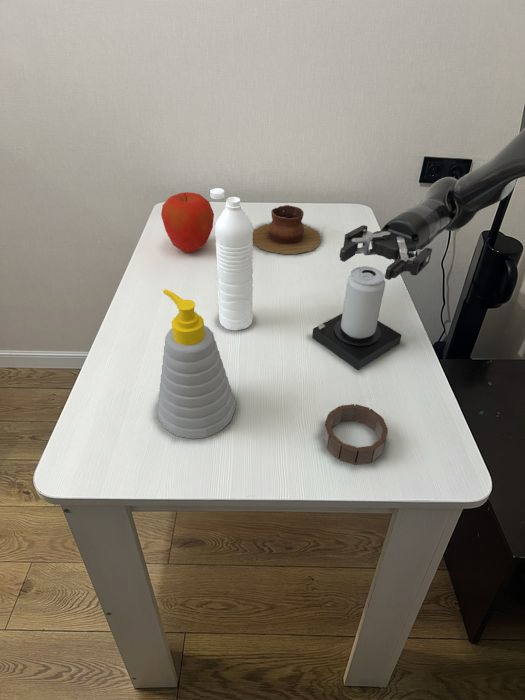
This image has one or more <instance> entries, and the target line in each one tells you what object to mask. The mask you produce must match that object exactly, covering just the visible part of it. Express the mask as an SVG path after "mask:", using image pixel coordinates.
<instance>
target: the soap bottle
mask: <svg viewBox="0 0 525 700" xmlns="http://www.w3.org/2000/svg"><path fill="white" fill-rule="evenodd" d="M162 292H163V294H164V295H166V296H167V297H169V299H171V301H173V303H174V304H175V305H176V308H177V309H178V313H177V314H176V316H175V317H173V319H172V320H171V328H170V329H169V330H168V332H167V333H166V335H165V337H164V346H163V355H162V365H161V374H160V383H159V392H158V400H157V418H158V420H159V421H160V424H161V425H162V427H163V428H164V429H165V430H166V431H169V432H170V433H171V434H173V435H174V436H175V437H181V438H184V439H185V438H187V439H190V440H192V439H200V438H201V439H202V438H208V437H210V436H212V435H214V434H217V433H219V432H221V431H222V430H223V429H225V427H227V426H228V424H230V423H231V422H232V420H233V417H234V414H235V411H236V409H237V408H236V401H235V396H234V392H233V390H232V387H231V384H230V382H229V381H230V380H229V377H228V376H227V372H226V368H225V366H224V362H223V359H222V358H221V353H220V350H219V348H218V344H217V341H216V340H215V336H214V333H213V331H212V330H211V329H210V328H209V326H206V325H205V319H204V318H203V317H202V315H200V314H198V313H197V312H196V311H195V307H196V303H195V301H194V300H192V299H183V298H182V297H180V296H179V295H177V294H176V293H175V292H173V291H171V290H169V289H167V288H165V289H163V290H162Z"/></svg>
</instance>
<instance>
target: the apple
mask: <svg viewBox="0 0 525 700" xmlns="http://www.w3.org/2000/svg"><path fill="white" fill-rule="evenodd" d="M160 216H161V220H162V223H163V227H164V230H165V232H166V235H167V236H168V238H169V240H170V242H171V244H172V246H173V247H175V248H176V249H178V250H180V251H181V252H182V253H185V254H189V253H195V252H197V251H198V250H200V249H201V248H202V247H204V246H205V245H206V244H207V242H208V241H209V239H210V236H211V233H212V232H213V231H212V230H213V228H214V219H215V214H214V211H213V208H212V206H211V203H210V201H209V200H207V198H205V197H204V196H203V195H201V194H199V193H196V192H189V191H185V192H180V193H176V194H173V195H171V196H169V197H168V198H167V199H166V200H165V202H164V203H163V204H162V207H161V212H160Z"/></svg>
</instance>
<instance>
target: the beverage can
mask: <svg viewBox="0 0 525 700" xmlns="http://www.w3.org/2000/svg"><path fill="white" fill-rule="evenodd" d="M385 287H386V279H385V273H383V272H382V270H380V269H378V268H376V267H373V266H366V265H362V266H357V267H355V268H353V269H352V270H351V272H350V274H349V275H348V277H347V282H346V289H345V296H344V301H343V309H342V313H343V315H342V321H341V328H342V330H343V331H344V332H345V333H346V334H347V335H349V336H350V337H353V338H358V339H362V338H366V337H369V336H371V335H373V334H374V333H375V331H376V327H377V322H378V321H379V316H380V311H381V306H382V303H383V298H384V293H385Z"/></svg>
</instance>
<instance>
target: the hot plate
mask: <svg viewBox="0 0 525 700" xmlns="http://www.w3.org/2000/svg"><path fill="white" fill-rule="evenodd" d="M342 315H343V312H341V313H340V314H338V315H336V316H334V317H332V318H331V319H328V320H327V321H325V322H323V323H320V324H318V325H317V326H315V327H313V328H312V333H311V338H312V339H313V340H314V341H316V342H317V343H318V344H320V345H322V346H323V347H324V348H326V349H327V350H329V351H330V352H331V353H332V354H334V355H336V356H337V357H338V358H340V359H341V360H343V361H344V362H346V363H347V364H348V365H350V366H351V367H353V368H354V369H355V370H360V369H362V368H363V367H365V366H367V365H368V364H370V363H372V362H373V361H374V360H376V359H378V358H380V357H381V356H383V355H385V354H386V353H388V352H389V351H391V350H393V349H395V348H396V347H398V346H399V345H400V344H401V340H402V336H403V335H402V334H401V333H399V332H398V331H396V330H394V329H393V328H391V327H390V326H388V325H387V324H384V323H383V322H382V321H380V320H378V322H377V327H376V331H375V333H374V334H373V335H371V336H369V337H366V338H362V339H358V338H353V337H350V336H349V335H347V334H346V333H345V332H344V331H343V330H342V328H341V321H342Z"/></svg>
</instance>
